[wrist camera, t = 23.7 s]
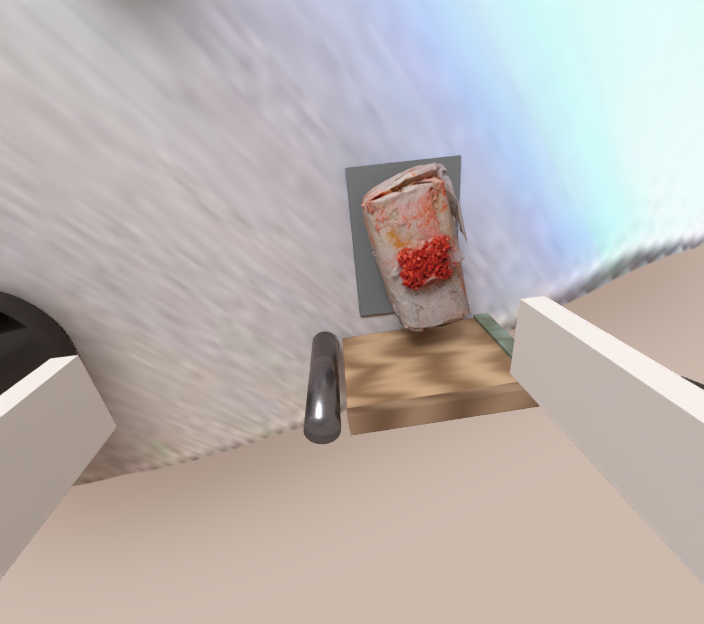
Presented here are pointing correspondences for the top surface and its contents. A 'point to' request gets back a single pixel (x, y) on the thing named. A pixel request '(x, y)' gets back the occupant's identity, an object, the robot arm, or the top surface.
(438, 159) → the mat
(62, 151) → the top surface
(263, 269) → the top surface
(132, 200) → the top surface
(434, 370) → the gate
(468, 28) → the top surface
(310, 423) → the gate post
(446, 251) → the food item
